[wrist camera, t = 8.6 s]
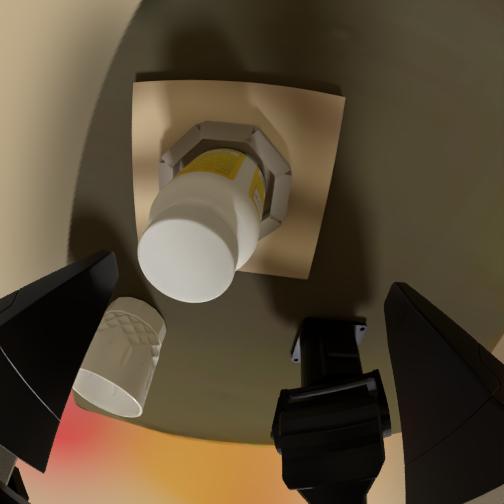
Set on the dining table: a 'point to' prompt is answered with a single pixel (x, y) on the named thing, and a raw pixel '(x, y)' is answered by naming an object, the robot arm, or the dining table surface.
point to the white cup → (122, 357)
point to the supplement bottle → (204, 225)
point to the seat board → (253, 142)
